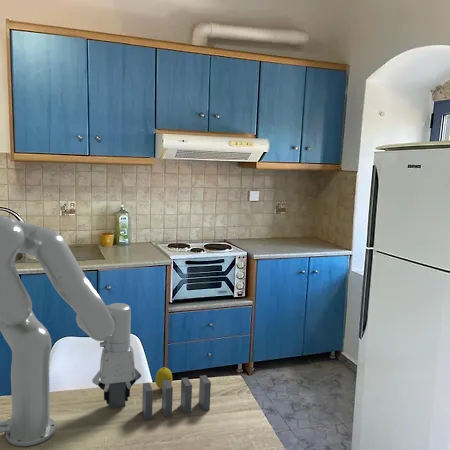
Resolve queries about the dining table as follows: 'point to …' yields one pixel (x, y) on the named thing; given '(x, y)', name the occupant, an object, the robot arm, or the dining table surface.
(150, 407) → the domino
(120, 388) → the domino
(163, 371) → the lemon
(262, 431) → the dining table surface
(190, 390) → the domino
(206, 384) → the domino
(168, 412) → the domino
